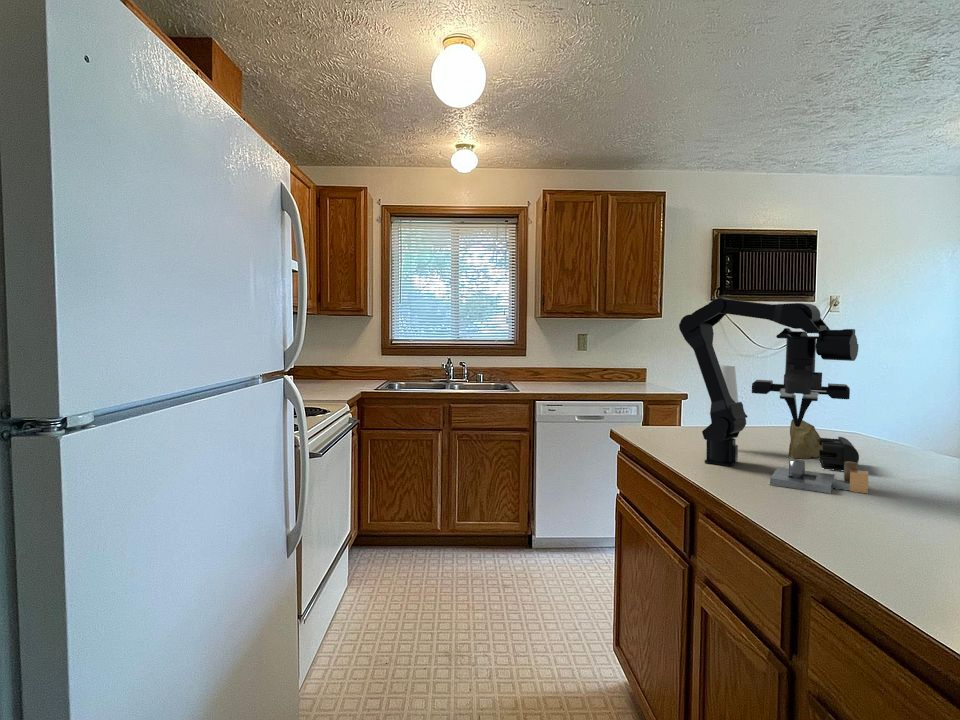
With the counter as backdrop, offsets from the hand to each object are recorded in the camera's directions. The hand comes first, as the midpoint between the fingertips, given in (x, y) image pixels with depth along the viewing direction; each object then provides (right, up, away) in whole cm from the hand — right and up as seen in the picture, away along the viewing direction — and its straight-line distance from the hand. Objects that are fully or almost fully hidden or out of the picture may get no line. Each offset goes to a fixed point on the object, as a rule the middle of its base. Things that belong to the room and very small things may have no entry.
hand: (797, 426), depth 118 cm
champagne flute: (-3, -10, +29) cm, 31 cm away
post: (-3, -12, -5) cm, 13 cm away
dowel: (+7, -12, -7) cm, 16 cm away
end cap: (+15, -11, +8) cm, 21 cm away
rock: (+15, -11, +19) cm, 26 cm away
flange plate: (+1, -12, -7) cm, 14 cm away
